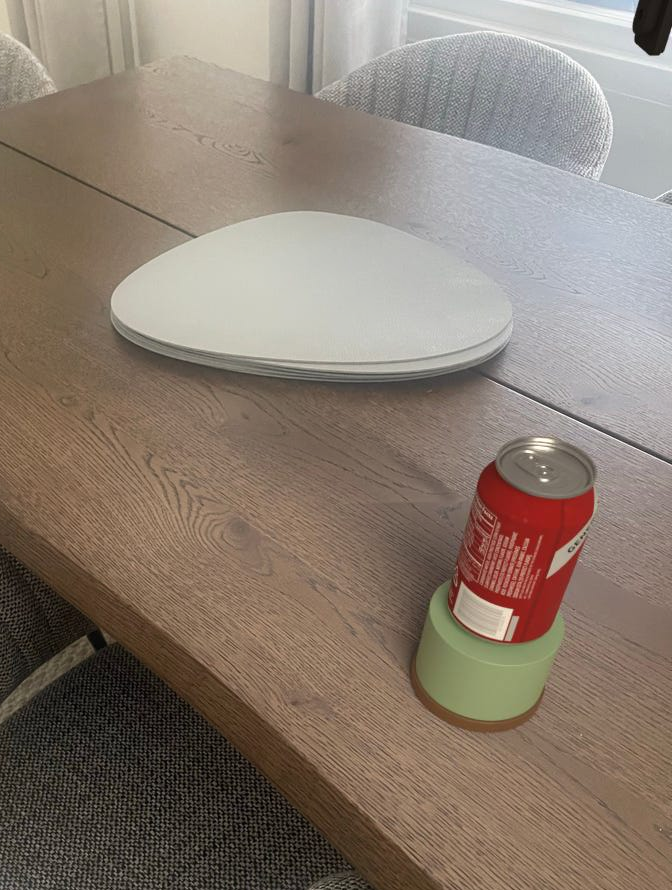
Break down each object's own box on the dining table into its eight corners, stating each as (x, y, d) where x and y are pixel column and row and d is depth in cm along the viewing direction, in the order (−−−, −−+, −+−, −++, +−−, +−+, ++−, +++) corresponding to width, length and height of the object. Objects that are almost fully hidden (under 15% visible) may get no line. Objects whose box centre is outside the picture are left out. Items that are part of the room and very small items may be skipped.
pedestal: (522, 633, 71) (545, 567, 66) (557, 731, 65) (586, 666, 60) (399, 636, 70) (414, 570, 66) (423, 734, 64) (442, 670, 60)
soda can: (498, 668, 60) (550, 518, 51) (423, 604, 64) (459, 454, 55) (573, 625, 62) (635, 474, 53) (496, 566, 66) (543, 416, 57)
